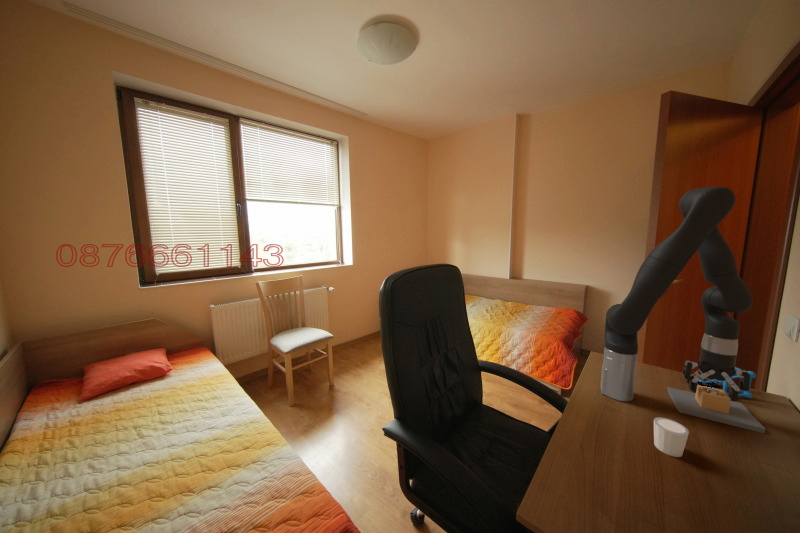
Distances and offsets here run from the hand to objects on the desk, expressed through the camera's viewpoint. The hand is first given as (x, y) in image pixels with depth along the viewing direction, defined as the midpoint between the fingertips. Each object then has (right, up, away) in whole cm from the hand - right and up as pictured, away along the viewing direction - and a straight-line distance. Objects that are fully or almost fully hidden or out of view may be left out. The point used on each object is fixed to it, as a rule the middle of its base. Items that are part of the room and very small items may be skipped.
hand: (711, 395), depth 90 cm
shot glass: (-29, -8, -15) cm, 34 cm away
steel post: (0, -3, 0) cm, 3 cm away
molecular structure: (+16, -4, +10) cm, 19 cm away
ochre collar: (0, -3, 0) cm, 4 cm away
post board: (0, -5, +1) cm, 5 cm away
